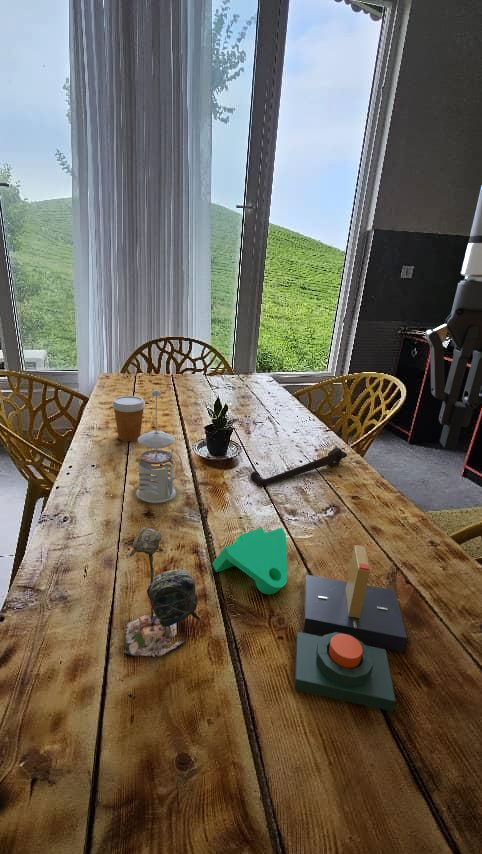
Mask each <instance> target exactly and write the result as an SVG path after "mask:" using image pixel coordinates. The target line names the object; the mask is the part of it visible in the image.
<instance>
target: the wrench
mask: <svg viewBox="0 0 482 854" xmlns="http://www.w3.org/2000/svg"><path fill="white" fill-rule="evenodd" d="M347 456H348V453H347V452H345V451H343V450H342V449H341V448H340V447H337V446H336V447H334V448H333V449H331V451H329V452H328V453H327V455H326V456H323V457H320V458H318V459H316V460H312V461H310V462H307V463H305V464H302V465H300V466H297V467H295V468H292V469H289V470H287V471H284V472H281V473H279V474H275V475H273V476H270V477H267V478H263V477H261V474H260V472H258V471H256V470H253V471H252V472H251V473H250V479H251V480H252V481H254V482H255V483H257V484H258V485H259V486H266V485H270V484H274V483H276V482H280V481H284V480H286V479H290V478H292V477H295V476H299V475H302V474H305V473H308V472H312V471H314V470H317V469H320V468H322V467H325V466H330V467H335V466H337V465H339V464H340V462H341V461H342V460H343V459H345V458H347Z"/></svg>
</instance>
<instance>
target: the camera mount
mask: <svg viewBox="0 0 482 854" xmlns="http://www.w3.org/2000/svg"><path fill="white" fill-rule="evenodd" d="M287 553H288V552H287V534H286V533H285V531H284V529H283V527H279V528H276V529H273V530H269V531H267V532H265V530H264V528H263V527H260V528H255V529H253V530H251V531H247V532H244V533H241V534H239V536H238V537H237V538H236V540H235V541H234V542H233V543H232V544H229V545H225V546H224V547H223V549H222V550H221V551H220V553H219V554H218V555H217V557H216V558H215V559H214V561H213V562H212V564H211V566H212V567H213V569H214V572H215V573H219V572H222V571H225V570H227V569H230V568H232V567H233V568H234V567H236V568H237V569H239V570H240V571H242V572H243V573H244V574H246V575H247V576H249V577H250V578H251V579H253V580H254V583H255V586H256V588H257V589H258V591H259V592H260V593H262V594H264V595H274V594H276V593H278V592H279V591H280V590H281V589H282V588H283V587H284V586H286V584H287V582H288V555H287Z"/></svg>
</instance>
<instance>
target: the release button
mask: <svg viewBox="0 0 482 854" xmlns="http://www.w3.org/2000/svg"><path fill="white" fill-rule="evenodd" d="M362 652H363V649H362V646H361V644H360V643H359V641H358V640H356V639H355V638H354V637H352V636H350V635H347V634H337V635H335V636H333V637H332V639H331V642H330V647H329V655H330V657H331V659H332V660H333V661H334V662H335V663H336V664H338V665H339V666H341V667H344V668H355V667H357V666H358V665H359V664H360V661H361V657H362Z"/></svg>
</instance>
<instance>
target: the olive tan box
mask: <svg viewBox="0 0 482 854" xmlns="http://www.w3.org/2000/svg"><path fill="white" fill-rule="evenodd" d="M370 574H371V569H370V564H369V559H368V552H367V549H366V546H364V545H359V544H358V545H357V544H354V545H353V549H352V556H351V561H350V567H349V570H348V575H347V580H346V582H347V585H346V597H347V607H348V616H350V617H355V618H360V614H361V610H362V605H363V601H364V597H365V592H366V588H367V585H368V583H369V580H370V579H369V578H370Z"/></svg>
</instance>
